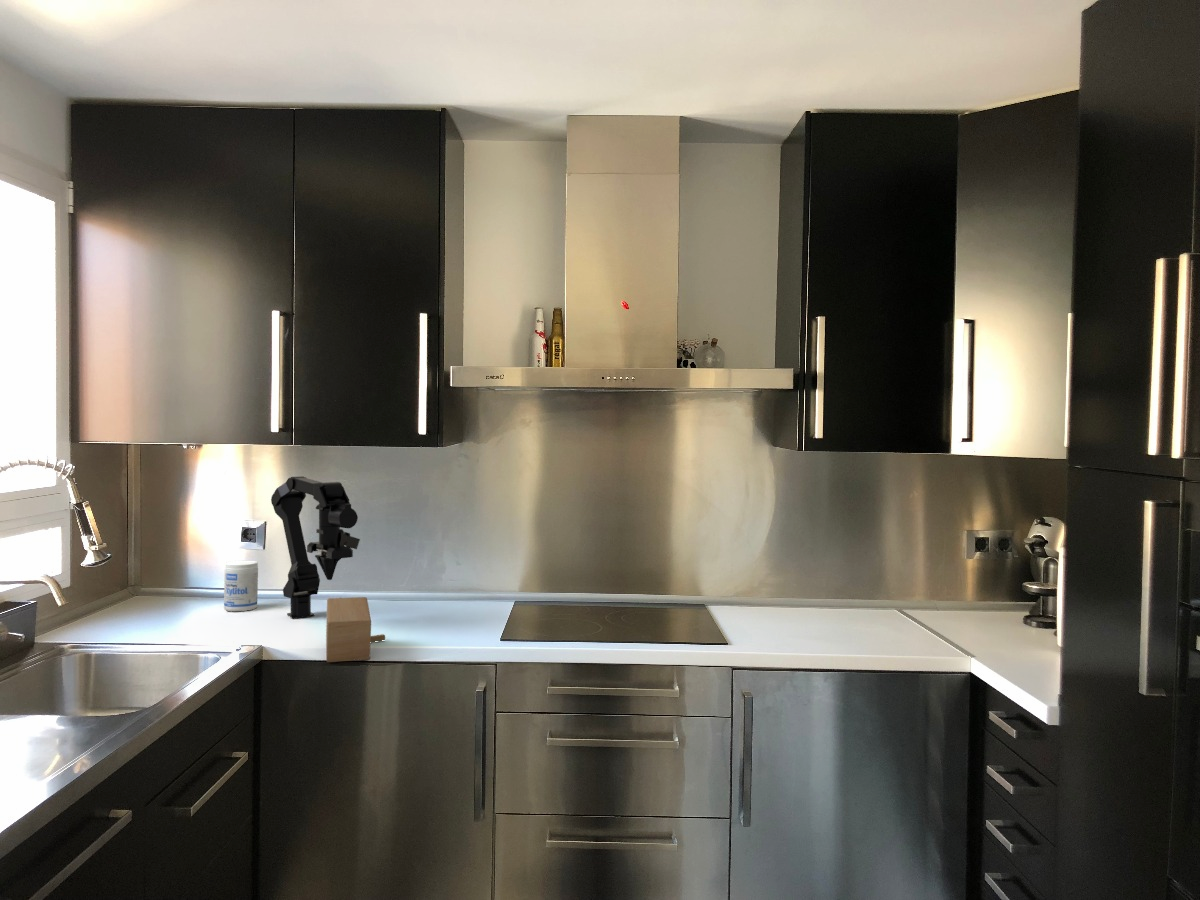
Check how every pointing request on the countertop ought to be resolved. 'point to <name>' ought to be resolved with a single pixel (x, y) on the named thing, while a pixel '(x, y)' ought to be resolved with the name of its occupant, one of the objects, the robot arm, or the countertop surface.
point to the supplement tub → (241, 585)
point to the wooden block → (348, 629)
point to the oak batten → (377, 638)
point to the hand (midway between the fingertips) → (329, 579)
